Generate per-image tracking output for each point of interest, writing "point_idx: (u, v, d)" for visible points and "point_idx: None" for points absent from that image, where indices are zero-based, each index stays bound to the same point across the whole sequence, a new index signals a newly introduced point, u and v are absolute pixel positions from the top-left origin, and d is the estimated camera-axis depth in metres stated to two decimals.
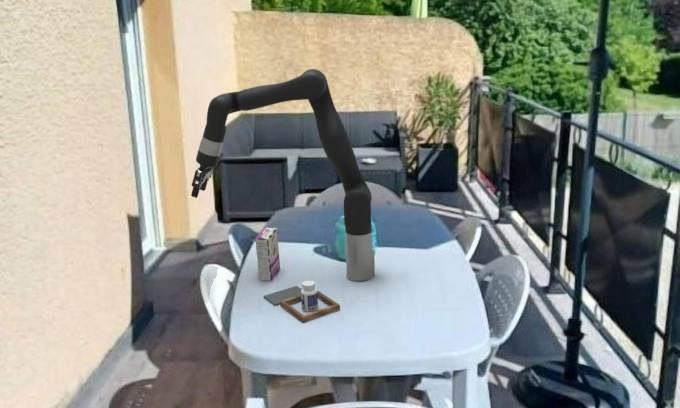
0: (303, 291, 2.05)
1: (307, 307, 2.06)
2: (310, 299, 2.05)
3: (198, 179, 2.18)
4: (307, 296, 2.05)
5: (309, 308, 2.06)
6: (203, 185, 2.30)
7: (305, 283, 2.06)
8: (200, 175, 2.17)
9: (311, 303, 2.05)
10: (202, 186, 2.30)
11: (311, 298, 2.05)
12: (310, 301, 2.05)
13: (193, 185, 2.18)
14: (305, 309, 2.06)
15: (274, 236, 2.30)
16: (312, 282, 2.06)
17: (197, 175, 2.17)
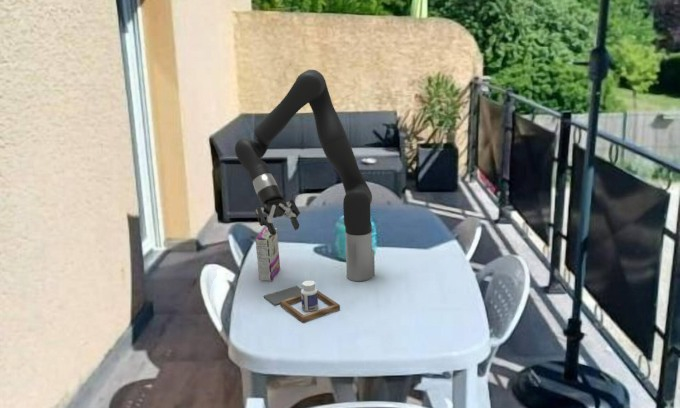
0: (303, 291, 2.05)
1: (307, 307, 2.06)
2: (310, 299, 2.05)
3: (258, 215, 2.10)
4: (307, 296, 2.05)
5: (309, 308, 2.06)
6: (294, 223, 2.14)
7: (305, 283, 2.06)
8: (257, 210, 2.10)
9: (311, 303, 2.05)
10: (294, 225, 2.14)
11: (311, 298, 2.05)
12: (310, 301, 2.05)
13: (260, 223, 2.10)
14: (305, 309, 2.06)
15: (274, 236, 2.30)
16: (312, 282, 2.06)
17: (257, 213, 2.11)
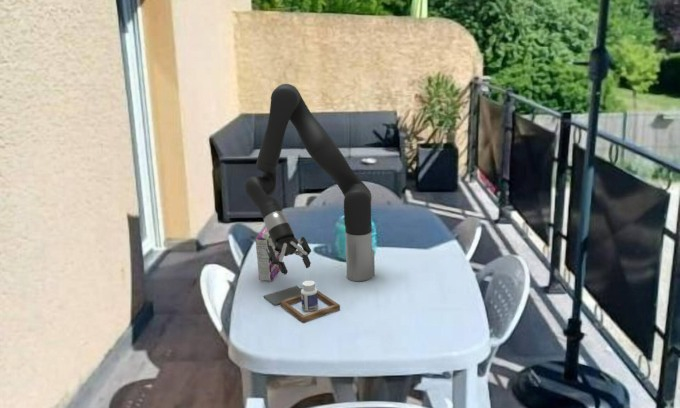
0: (303, 291, 2.05)
1: (307, 307, 2.06)
2: (310, 299, 2.05)
3: (270, 254, 2.09)
4: (307, 296, 2.05)
5: (309, 308, 2.06)
6: (305, 262, 2.13)
7: (305, 283, 2.06)
8: (268, 249, 2.09)
9: (311, 303, 2.05)
10: (305, 263, 2.13)
11: (311, 298, 2.05)
12: (310, 301, 2.05)
13: (271, 262, 2.09)
14: (305, 309, 2.06)
15: None
16: (312, 282, 2.06)
17: (268, 251, 2.10)
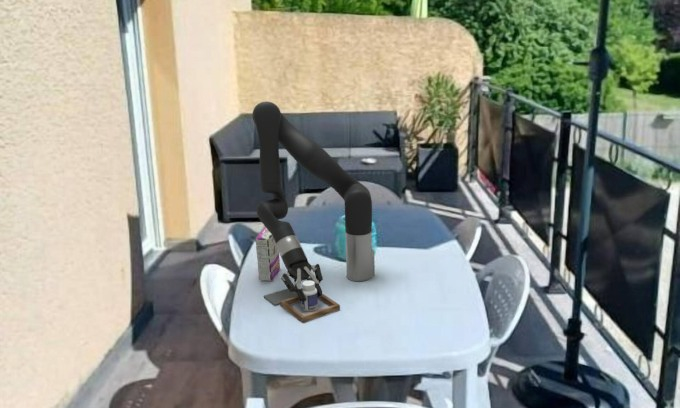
0: (303, 291, 2.05)
1: (307, 307, 2.06)
2: (310, 299, 2.05)
3: (286, 282, 2.05)
4: (307, 296, 2.05)
5: (309, 308, 2.06)
6: (317, 290, 2.08)
7: (305, 283, 2.06)
8: (284, 278, 2.05)
9: (311, 303, 2.05)
10: (317, 292, 2.08)
11: (311, 298, 2.05)
12: (310, 301, 2.05)
13: (290, 290, 2.05)
14: (305, 309, 2.06)
15: None
16: (312, 282, 2.06)
17: (284, 280, 2.05)
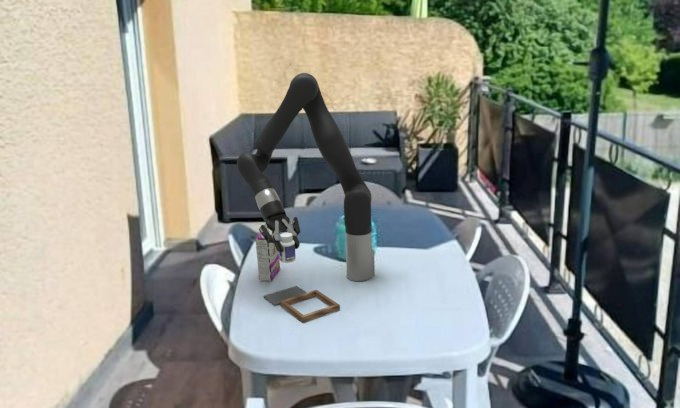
0: (281, 242, 2.08)
1: (284, 258, 2.08)
2: (287, 250, 2.07)
3: (264, 233, 2.07)
4: (284, 247, 2.07)
5: (286, 259, 2.08)
6: None
7: (283, 235, 2.08)
8: (262, 229, 2.07)
9: (289, 255, 2.08)
10: None
11: (288, 249, 2.07)
12: (287, 252, 2.07)
13: (267, 241, 2.07)
14: (282, 260, 2.09)
15: None
16: (290, 234, 2.09)
17: (262, 231, 2.08)
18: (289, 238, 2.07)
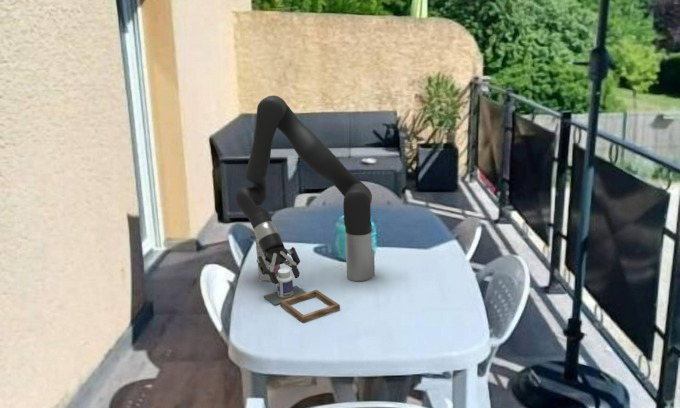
0: (278, 278, 2.14)
1: (282, 293, 2.14)
2: (285, 286, 2.13)
3: (260, 264, 2.12)
4: (282, 283, 2.13)
5: (284, 294, 2.14)
6: (294, 272, 2.16)
7: (280, 270, 2.14)
8: (259, 260, 2.13)
9: (286, 290, 2.14)
10: (294, 273, 2.16)
11: (286, 285, 2.13)
12: (285, 287, 2.13)
13: (262, 272, 2.12)
14: (280, 295, 2.15)
15: None
16: (287, 270, 2.15)
17: (259, 262, 2.13)
18: (287, 274, 2.13)
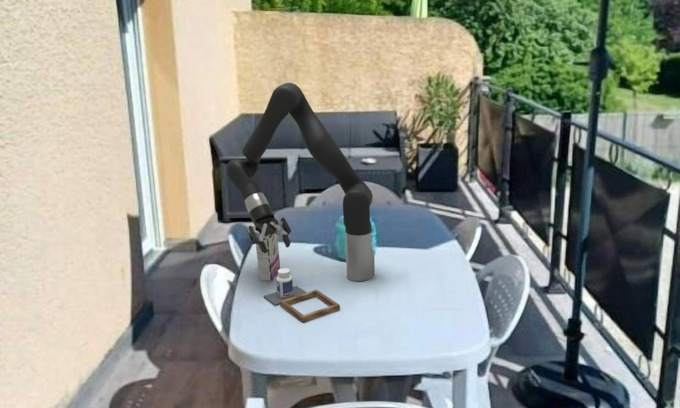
0: (278, 278, 2.14)
1: (282, 293, 2.14)
2: (285, 286, 2.13)
3: (250, 234, 2.15)
4: (282, 283, 2.13)
5: (284, 294, 2.14)
6: (285, 241, 2.19)
7: (280, 270, 2.14)
8: (249, 229, 2.16)
9: (286, 290, 2.14)
10: (285, 243, 2.20)
11: (286, 285, 2.13)
12: (285, 287, 2.13)
13: (252, 242, 2.15)
14: (280, 295, 2.15)
15: (274, 236, 2.30)
16: (287, 270, 2.15)
17: (249, 232, 2.17)
18: (286, 274, 2.13)
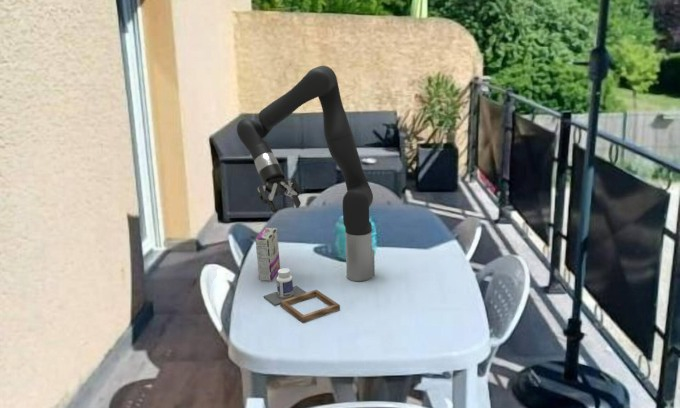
0: (278, 278, 2.14)
1: (282, 293, 2.14)
2: (285, 286, 2.13)
3: (260, 193, 2.13)
4: (282, 283, 2.13)
5: (284, 294, 2.14)
6: (295, 201, 2.17)
7: (280, 270, 2.14)
8: (259, 188, 2.13)
9: (286, 290, 2.14)
10: (295, 203, 2.17)
11: (286, 285, 2.13)
12: (285, 287, 2.13)
13: (262, 201, 2.13)
14: (280, 295, 2.15)
15: (274, 236, 2.30)
16: (287, 270, 2.15)
17: (259, 191, 2.14)
18: (287, 274, 2.13)
